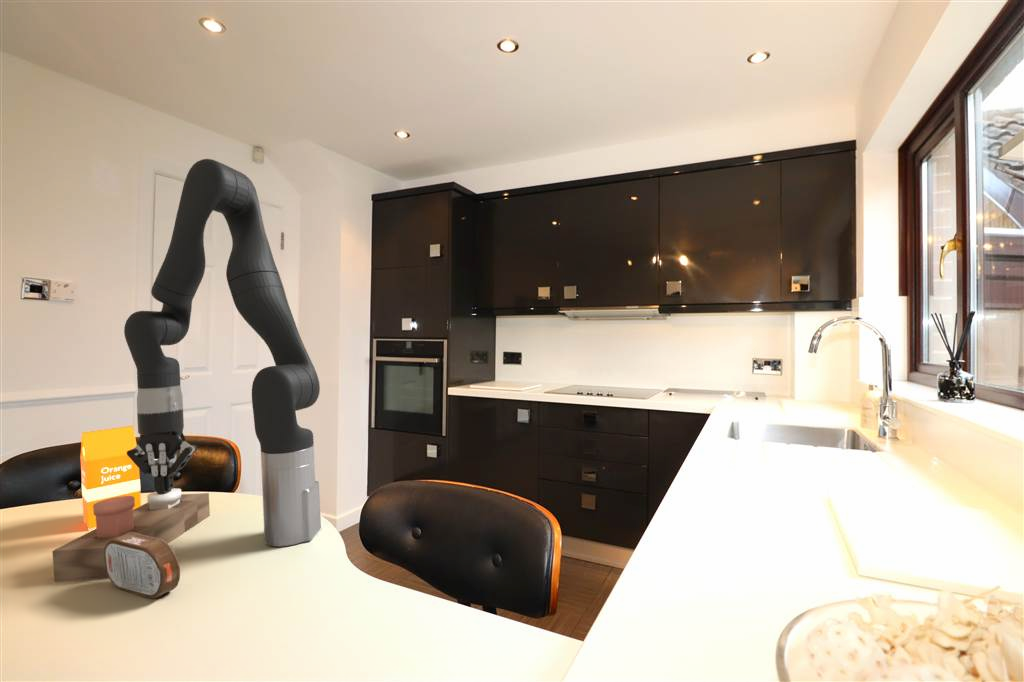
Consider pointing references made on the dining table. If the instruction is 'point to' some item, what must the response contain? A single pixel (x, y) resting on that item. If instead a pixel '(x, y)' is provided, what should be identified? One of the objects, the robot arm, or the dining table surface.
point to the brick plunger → (114, 516)
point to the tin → (141, 564)
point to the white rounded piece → (164, 499)
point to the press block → (166, 524)
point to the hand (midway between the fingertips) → (164, 492)
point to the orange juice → (107, 468)
